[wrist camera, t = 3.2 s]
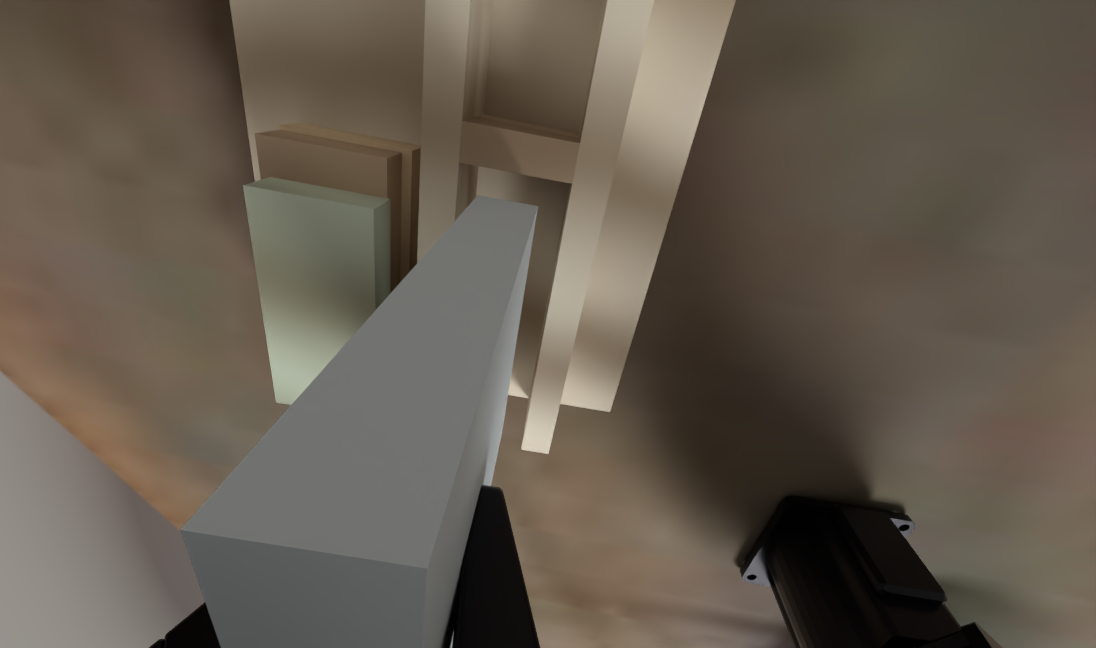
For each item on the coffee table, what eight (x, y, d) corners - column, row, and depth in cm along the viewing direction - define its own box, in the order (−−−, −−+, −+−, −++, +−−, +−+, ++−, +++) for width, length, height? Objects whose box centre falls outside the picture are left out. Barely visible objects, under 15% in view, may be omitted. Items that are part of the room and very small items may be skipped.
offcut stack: (416, 373, 18) (382, 433, 15) (319, 357, 18) (266, 414, 15) (424, 146, 14) (380, 162, 11) (299, 122, 14) (218, 132, 11)
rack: (608, 397, 20) (615, 465, 16) (292, 343, 19) (229, 400, 16) (809, -281, 10) (932, -473, 7) (200, -419, 10) (-9, -702, 6)
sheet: (501, 433, 15) (406, 889, 7) (456, 425, 15) (299, 874, 7) (538, 206, 12) (427, 567, 3) (478, 195, 12) (180, 529, 3)
